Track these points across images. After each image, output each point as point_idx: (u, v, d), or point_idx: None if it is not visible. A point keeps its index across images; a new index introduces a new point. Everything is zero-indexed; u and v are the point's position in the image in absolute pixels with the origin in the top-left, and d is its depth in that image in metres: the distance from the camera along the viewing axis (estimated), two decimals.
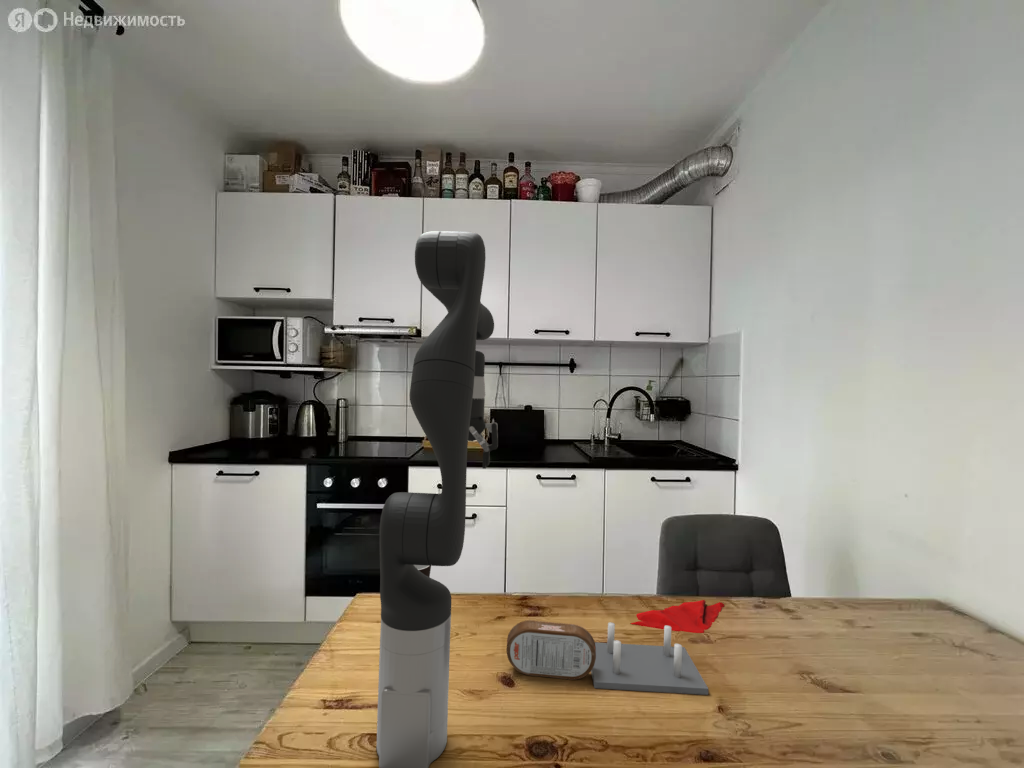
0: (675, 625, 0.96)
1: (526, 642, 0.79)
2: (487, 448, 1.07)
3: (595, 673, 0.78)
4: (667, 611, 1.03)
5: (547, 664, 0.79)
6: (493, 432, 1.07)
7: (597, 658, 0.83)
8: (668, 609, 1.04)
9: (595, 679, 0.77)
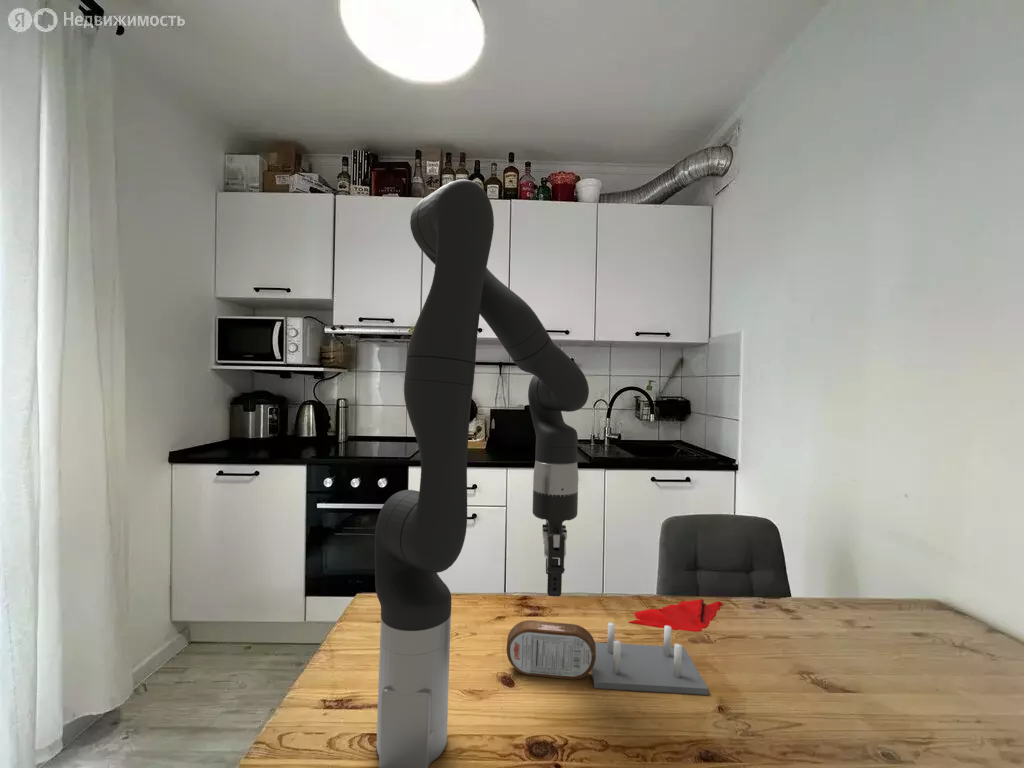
0: (673, 624, 0.97)
1: (526, 642, 0.79)
2: None
3: (595, 673, 0.78)
4: (665, 610, 1.03)
5: (547, 664, 0.79)
6: None
7: (597, 658, 0.83)
8: (666, 608, 1.04)
9: (595, 679, 0.77)
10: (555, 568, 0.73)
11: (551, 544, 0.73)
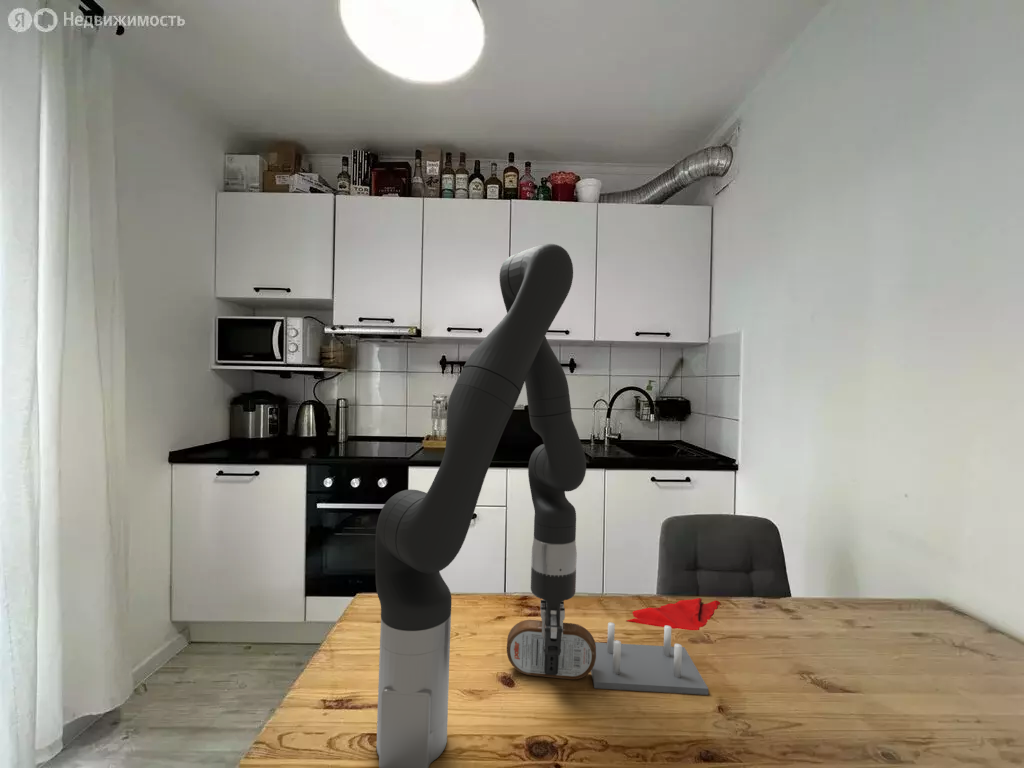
0: (671, 622, 0.98)
1: (526, 642, 0.79)
2: None
3: (595, 673, 0.78)
4: (663, 609, 1.04)
5: None
6: None
7: (597, 658, 0.83)
8: (664, 607, 1.05)
9: (595, 679, 0.77)
10: (552, 652, 0.75)
11: (548, 637, 0.74)
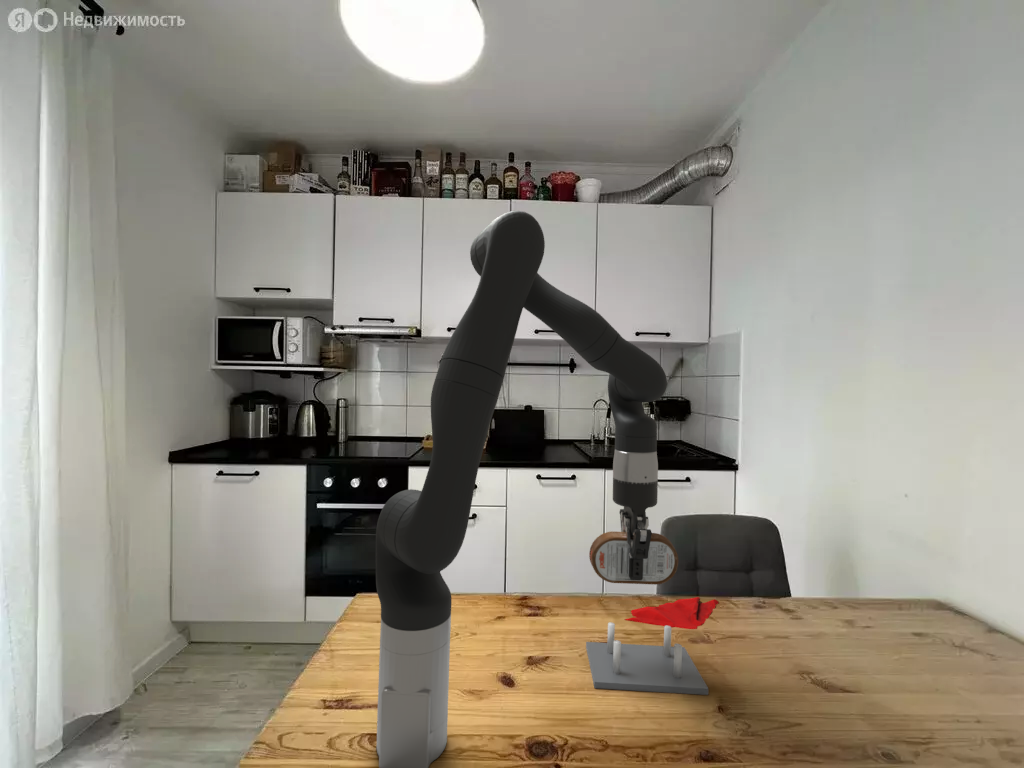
0: (669, 621, 0.98)
1: (611, 551, 0.81)
2: None
3: (595, 673, 0.78)
4: (662, 608, 1.04)
5: None
6: None
7: (597, 658, 0.83)
8: (663, 606, 1.05)
9: (595, 679, 0.77)
10: (639, 555, 0.78)
11: (638, 540, 0.76)
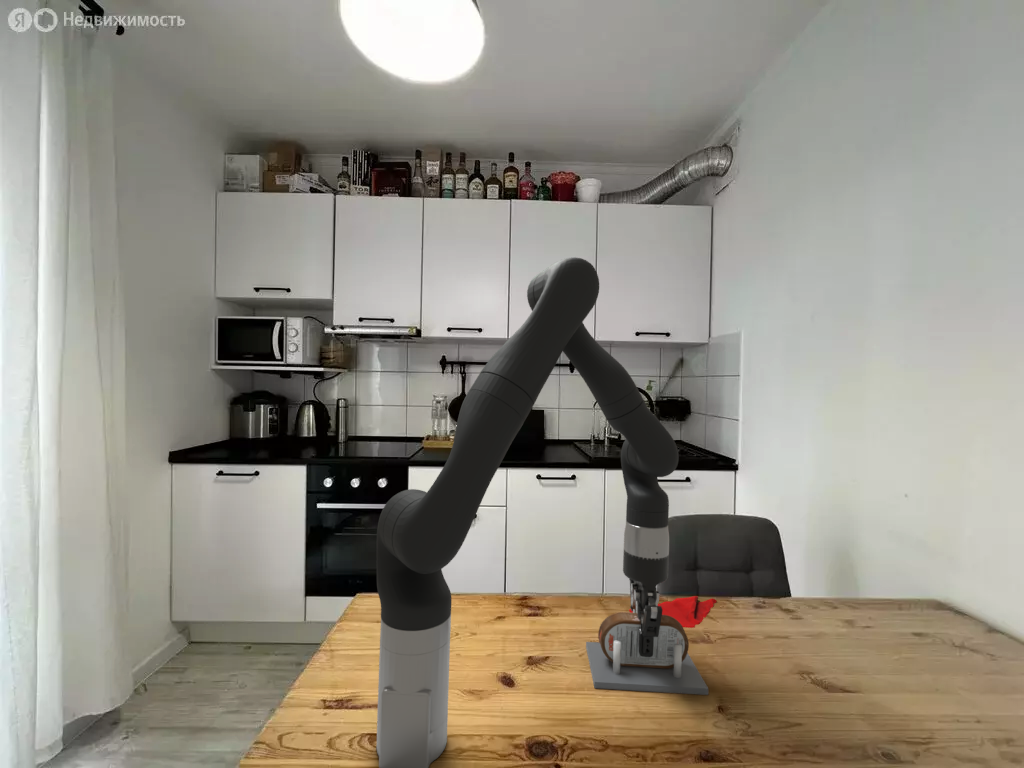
0: None
1: (621, 634, 0.80)
2: None
3: (595, 673, 0.78)
4: None
5: None
6: None
7: (597, 658, 0.83)
8: (661, 604, 1.06)
9: (595, 679, 0.77)
10: (650, 633, 0.77)
11: (648, 617, 0.76)
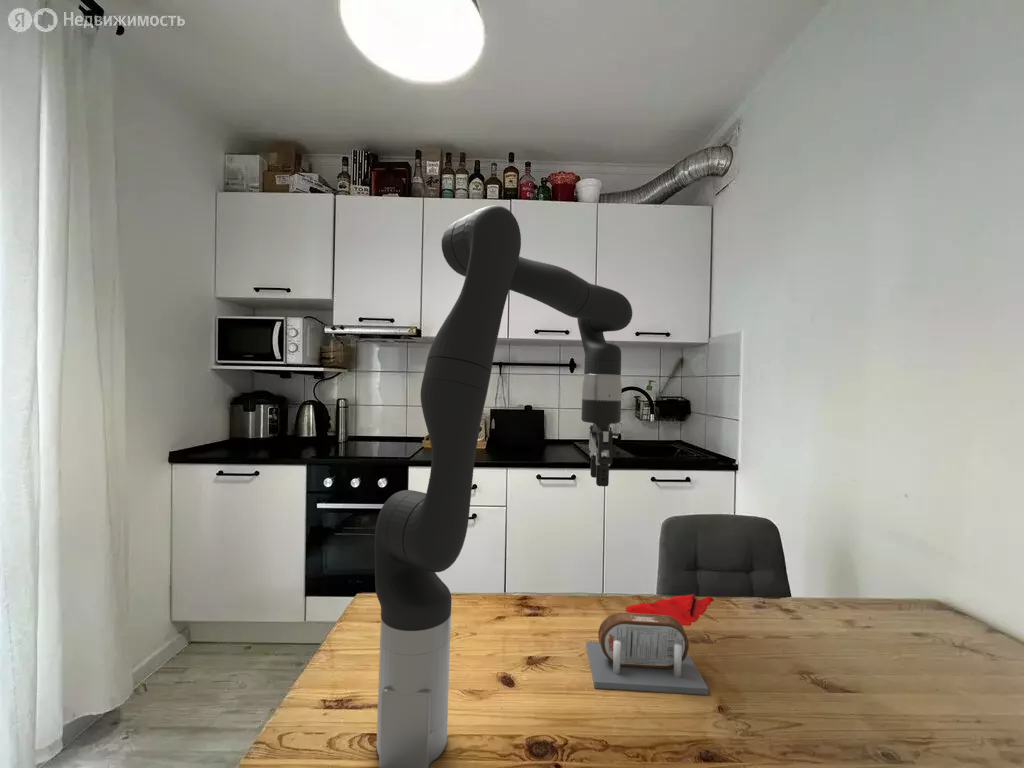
0: None
1: (621, 634, 0.80)
2: None
3: (595, 673, 0.78)
4: (656, 604, 1.06)
5: (641, 654, 0.80)
6: None
7: (597, 658, 0.83)
8: (658, 602, 1.07)
9: (595, 679, 0.77)
10: (604, 459, 0.85)
11: (601, 439, 0.85)
